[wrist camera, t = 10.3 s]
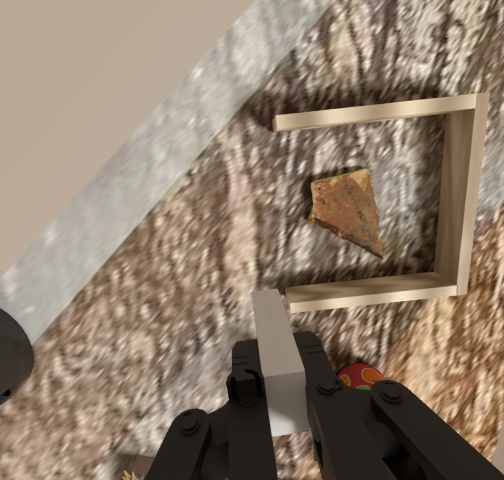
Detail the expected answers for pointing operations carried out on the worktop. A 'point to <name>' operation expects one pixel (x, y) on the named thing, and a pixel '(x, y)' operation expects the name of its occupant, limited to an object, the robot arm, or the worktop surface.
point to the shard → (347, 209)
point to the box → (450, 204)
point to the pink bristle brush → (143, 468)
